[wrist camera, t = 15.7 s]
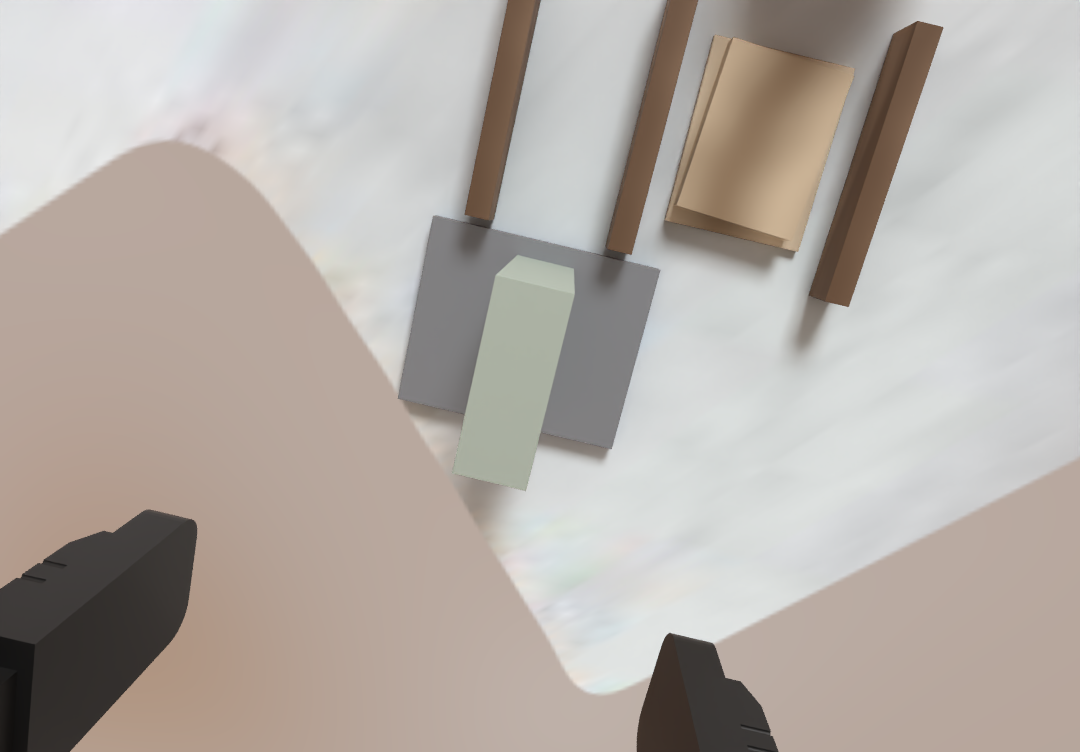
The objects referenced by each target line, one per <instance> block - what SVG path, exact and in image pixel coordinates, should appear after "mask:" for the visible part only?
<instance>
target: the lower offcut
mask: <svg viewBox="0 0 1080 752" xmlns="http://www.w3.org/2000/svg"><path fill="white" fill-rule="evenodd" d="M730 40H731V38H727V37H722V36H718V35H715V36H714V37H713V40H712V44H711V48H710V51H709V55H708V59H707V63H706V66H705V70H704V74H703V78H702V82H701V85H700V89H699V93H698V97H697V100H696V104H695V108H694V112H693V115H692V119H691V123H690V127H689V131H688V134H687V138H686V142H685V146H684V149H683V153H682V157H681V161H680V164H679V168H678V172H677V176H676V180H675V183H674V187H673V191H672V195H671V198H670V202H669V206H668V210H667V213H666V217H665V220H666V221H670V222H674V223H678V224H683V225H687V226H691V227H695V228H700V229H704V230H708V231H712V232H716V233H721V234H725V235H729V236H733V237H738V238H742V239H746V240H750V241H754V242H759V243H763V244H767V245H771V246H776V247H780V248H784V249H788V250H793V251H797V252H798V250H799V247H800V244H801V241H802V237H803V234H804V231H805V228H806V225H807V221H808V218H809V215H810V212H811V208H812V205H813V202H814V199H815V196H816V192H817V189H818V186H819V183H820V180H821V176H822V173H823V170H824V167H825V164H826V160H827V157H828V154H829V151H830V147H831V144H832V141H833V138H834V135H835V131H836V128H837V125H838V122H839V119H840V115H841V112H842V109H843V107H842V109H841V112H840V115H839V117H838V120H837V123H836V125H835V128H834V131H833V133H832V136H831V139H830V141H829V144H828V146H827V149H826V152H825V154H824V157H823V160H822V162H821V165H820V168H819V170H818V173H817V176H816V178H815V181H814V183H813V186H812V189H811V191H810V194H809V197H808V199H807V202H806V205H805V207H804V210H803V212H802V215H801V218H800V220H799V223H798V226H797V228H796V231H795V234H794V236H793V239H792V241H788V240H783V239H780V238H777V237H774V236H770V235H767V234H764V233H761V232H758V231H754V230H751V229H748V228H745V227H741V226H738V225H735V224H732V223H729V222H725V221H722V220H719V219H716V218H713V217H709V216H706V215H703V214H700V213H696V212H693V211H690V210H687V209H684V208H680V207H677V206H674V202H675V199H676V196H677V193H678V190H679V187H680V184H681V181H682V178H683V175H684V172H685V169H686V166H687V163H688V160H689V157H690V154H691V151H692V148H693V145H694V142H695V139H696V136H697V133H698V130H699V127H700V124H701V121H702V118H703V115H704V112H705V109H706V106H707V103H708V100H709V97H710V94H711V91H712V88H713V85H714V82H715V80H716V77H717V74H718V71H719V68H720V65H721V62H722V59H723V56H724V53H725V50H726V47H727V44H728V42H729V41H730ZM763 47H764V46H763ZM766 48H768V47H766ZM769 49H772V48H769ZM772 50H776V49H772ZM776 51H779V52H782V53H785V54H788V55H791V56H794V57H797V58H801V59H804V60H807V61H810V62H813V63H816V64H819V65H822V66H826V67H829V68H832V69H835V70H838V71H841V72H844V73H847V74H850V75H853V74H854V70H855V69H854V68H850V67H846V66H842V65H838V64H834V63H830V62H826V61H821V60H817V59H813V58H809V57H805V56H801V55H797V54H793V53H788V52H784V51H780V50H776ZM844 103H845V102H844ZM843 106H844V104H843Z"/></svg>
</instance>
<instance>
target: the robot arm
mask: <svg viewBox="0 0 1080 752" xmlns="http://www.w3.org/2000/svg"><path fill="white" fill-rule="evenodd" d="M196 539H197V525H196V523H195V521H194V520H192V519H187V518H183V517H179V516H175V515H170V514H166V513H161V512H158V511H154V510H145V511H143V512H141V513H140V514H139V515H137V516H136V517H134V518H133V519H132V520H130V521H129V522H127V523H126V524H125V525H123V526H122V527H120V528H119V529H118V530H116V531H115V532H114V533H111V532H106V531H102V532H99V533H96V534H93V535H90V536H88V537H85V538H81V539H79V540H75V541H73V542H70V543H68V544H66V545H65V546H64V547H62V548H61V549H59V550H58V551H56V552H55V553H53V554H52V555H50V556H49V557H47V558H46V559H44V561H43V563H42V564H40V563H38V564H37V565H35V566H34V567H32V568H31V569H29V570H28V571H26V572H25V573H23V574H22V577H21V578H16V579H14V580H13V581H11V582H10V583H8V584H7V585H5V586H4V587H3V588H1V589H0V752H70V751H71V750H72V749H73V748H74V747H75V745H76V744H77V743H78V742H79V741H80V740H81V739H82V738H83V737H84V736H85V735H86V733H87V732H88V731H89V730H90V729H91V728H92V727H93V726H94V725H95V723H97V721H98V720H99V719H100V718H101V717H102V716H103V715H104V714H105V713H106V711H108V710H109V708H110V707H111V706H112V705H113V704H114V703H115V702H116V700H118V699H119V697H120V696H121V695H122V694H123V693H124V692H125V691H126V690H127V689H128V688H129V687H130V686H131V685H132V683H133V682H134V681H135V680H136V679H137V678H138V677H139V676H140V675H141V674H142V673H143V671H144V670H145V669H146V668H147V667H148V666H149V665H150V664H151V663H152V661H154V659H155V658H156V657H157V656H158V655H159V654H160V653H161V652H162V651H163V650H164V649H165V648H166V646H167V645H168V644H169V643H170V642H171V641H172V639H173V638H174V637H175V635H176V633H177V632H178V630H179V627H180V626H181V623H182V621H183V619H184V616H185V613H186V609H187V606H188V600H189V592H190V585H191V577H192V570H193V562H194V554H195V547H196ZM637 752H778V749H777V746H776V744H775V741H774V739H773V736H770V728H769V725H768V723H767V720H766V717H765V715H764V712H763V709H762V707H761V705H760V704H759V703H758V702H757V700H756V699H755V698H754V697H753V696H752V694H751V693H750V692H749V691H748V690H747V688H746V687H745V686H744V685H743V684H742V683H741V682H740V681H736V680H732V679H728V678H725V675H724V672H723V669H722V666H721V663H720V660H719V657H718V654H717V651H716V648H715V646H714V644H713V643H710V642H706V641H702V640H697V639H693V638H689V637H685V636H680V635H676V634H672V633H669V634H667V636H666V637H665V639H664V641H663V644H662V646H661V650H660V653H659V656H658V659H657V662H656V666H655V669H654V672H653V675H652V678H651V682H650V685H649V688H648V691H647V694H646V698H645V701H644V704H643V707H642V711H641V714H640V719H639V725H638V732H637Z"/></svg>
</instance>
